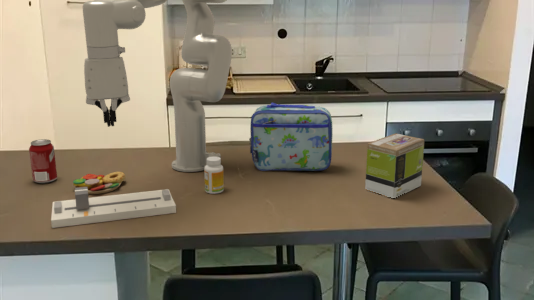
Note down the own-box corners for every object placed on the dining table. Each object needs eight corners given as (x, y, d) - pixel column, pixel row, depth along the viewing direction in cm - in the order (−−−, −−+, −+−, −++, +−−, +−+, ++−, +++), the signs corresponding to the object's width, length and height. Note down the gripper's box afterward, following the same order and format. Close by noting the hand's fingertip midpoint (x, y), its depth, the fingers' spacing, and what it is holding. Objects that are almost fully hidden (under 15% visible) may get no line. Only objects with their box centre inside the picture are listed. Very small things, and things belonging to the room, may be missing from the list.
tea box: (392, 178, 165) (396, 131, 161) (421, 187, 158) (426, 138, 154) (363, 190, 155) (366, 141, 151) (393, 200, 148) (397, 149, 144)
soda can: (49, 185, 156) (44, 145, 153) (28, 183, 158) (23, 144, 154) (62, 177, 163) (57, 139, 159) (41, 175, 164) (37, 138, 160)
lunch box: (248, 171, 169) (248, 106, 163) (252, 161, 180) (252, 99, 173) (331, 175, 167) (334, 109, 161) (330, 164, 177) (333, 102, 171)
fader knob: (88, 201, 139) (87, 186, 138) (89, 208, 135) (87, 193, 133) (76, 202, 138) (74, 187, 137) (76, 209, 134) (74, 194, 132)
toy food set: (130, 181, 161) (129, 171, 160) (111, 198, 149) (110, 187, 148) (88, 178, 163) (88, 168, 162) (66, 194, 151) (65, 183, 150)
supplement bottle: (226, 188, 155) (226, 156, 152) (219, 195, 150) (218, 162, 148) (209, 186, 157) (209, 154, 154) (201, 192, 152) (200, 160, 149)
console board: (168, 195, 150) (168, 184, 149) (176, 212, 139) (175, 200, 138) (53, 208, 140) (52, 196, 139) (51, 228, 129) (50, 214, 128)
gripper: (132, 49, 137) (138, 118, 143) (71, 52, 132) (79, 124, 138) (136, 53, 130) (142, 126, 136) (71, 56, 126) (80, 132, 132)
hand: (110, 124), depth 137 cm, fingers closed
